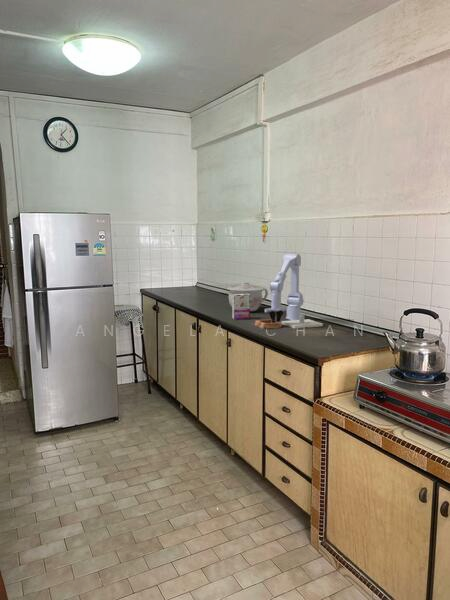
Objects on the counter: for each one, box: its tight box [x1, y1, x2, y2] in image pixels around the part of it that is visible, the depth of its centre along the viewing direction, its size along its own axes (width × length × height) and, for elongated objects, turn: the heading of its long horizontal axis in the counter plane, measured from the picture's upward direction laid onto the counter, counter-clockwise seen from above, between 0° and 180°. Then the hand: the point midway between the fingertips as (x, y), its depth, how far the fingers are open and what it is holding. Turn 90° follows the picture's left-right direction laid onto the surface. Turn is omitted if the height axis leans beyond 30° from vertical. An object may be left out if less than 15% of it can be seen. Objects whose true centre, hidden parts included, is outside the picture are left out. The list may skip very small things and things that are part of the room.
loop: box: [254, 318, 283, 330], centre depth 278 cm, size 12×12×3 cm
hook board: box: [280, 313, 324, 329], centre depth 283 cm, size 16×20×6 cm
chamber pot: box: [226, 282, 269, 313], centre depth 332 cm, size 28×28×21 cm
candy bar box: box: [231, 294, 251, 321], centre depth 301 cm, size 11×5×16 cm, turn 105°
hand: (275, 323), depth 280 cm, fingers open, 3 cm apart
